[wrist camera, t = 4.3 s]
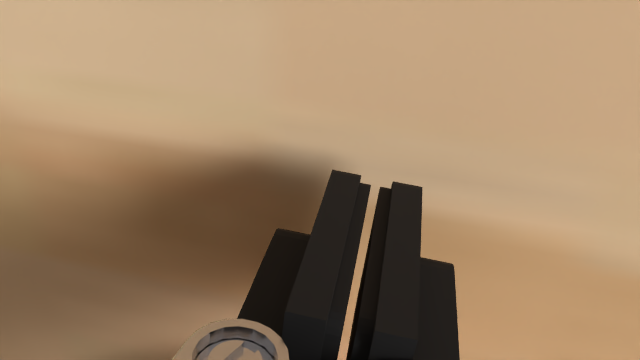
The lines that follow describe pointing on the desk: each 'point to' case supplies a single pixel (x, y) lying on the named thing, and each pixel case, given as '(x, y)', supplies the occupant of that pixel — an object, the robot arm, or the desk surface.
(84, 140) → the desk surface
